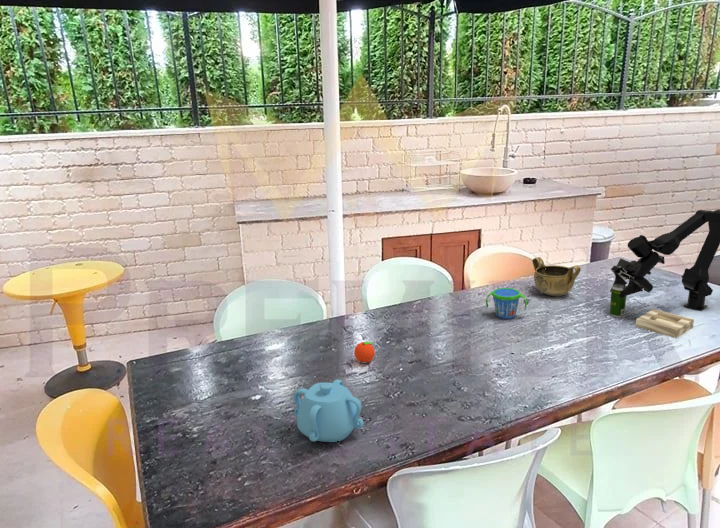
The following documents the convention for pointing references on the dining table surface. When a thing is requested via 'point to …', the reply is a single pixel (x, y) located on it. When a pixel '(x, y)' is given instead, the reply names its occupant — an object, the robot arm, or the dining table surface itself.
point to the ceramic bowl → (554, 277)
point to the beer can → (617, 301)
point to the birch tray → (665, 323)
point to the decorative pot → (327, 412)
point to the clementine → (364, 352)
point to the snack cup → (506, 302)
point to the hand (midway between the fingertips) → (615, 294)
